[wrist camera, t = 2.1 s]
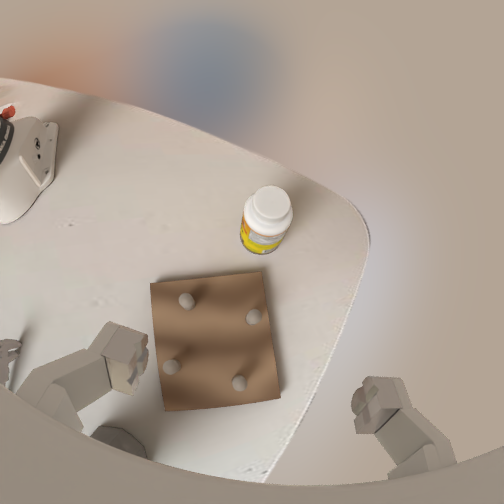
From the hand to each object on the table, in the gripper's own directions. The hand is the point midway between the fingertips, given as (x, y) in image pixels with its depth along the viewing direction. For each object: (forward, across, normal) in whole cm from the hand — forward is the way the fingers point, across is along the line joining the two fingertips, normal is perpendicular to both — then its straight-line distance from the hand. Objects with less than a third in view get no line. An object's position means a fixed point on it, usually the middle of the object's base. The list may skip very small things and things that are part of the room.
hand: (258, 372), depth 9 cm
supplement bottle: (+29, 0, +7) cm, 30 cm away
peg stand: (+19, +3, +18) cm, 26 cm away
